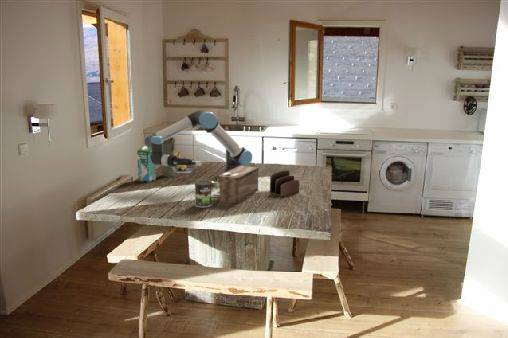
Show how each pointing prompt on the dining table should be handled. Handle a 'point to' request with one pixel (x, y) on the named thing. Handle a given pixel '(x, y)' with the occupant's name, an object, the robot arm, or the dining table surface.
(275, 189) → the letter holder
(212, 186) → the button
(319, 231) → the dining table surface
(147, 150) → the milk carton
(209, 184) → the coffee can
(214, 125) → the robot arm
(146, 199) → the dining table surface
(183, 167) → the stuffed giraffe
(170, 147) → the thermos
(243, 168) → the box
